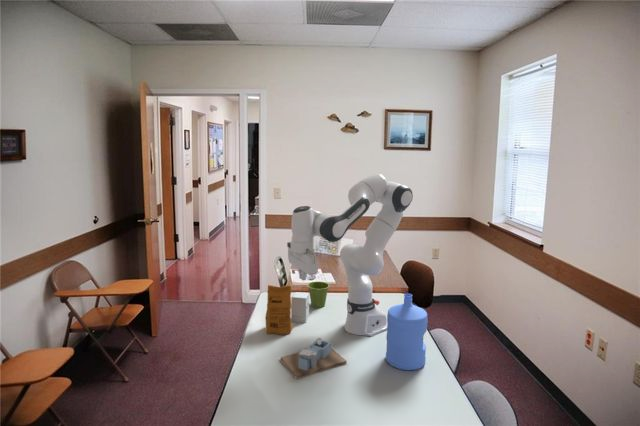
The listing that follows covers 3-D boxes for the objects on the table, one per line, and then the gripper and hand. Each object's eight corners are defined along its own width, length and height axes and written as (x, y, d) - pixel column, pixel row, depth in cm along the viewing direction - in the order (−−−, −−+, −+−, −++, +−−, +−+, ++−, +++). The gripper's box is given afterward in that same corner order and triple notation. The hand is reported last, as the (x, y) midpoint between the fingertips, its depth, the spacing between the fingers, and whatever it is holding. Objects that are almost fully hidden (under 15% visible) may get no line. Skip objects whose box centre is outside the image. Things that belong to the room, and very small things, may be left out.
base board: (327, 347, 184) (327, 344, 184) (346, 363, 171) (346, 360, 171) (280, 360, 174) (280, 357, 174) (296, 378, 161) (296, 375, 161)
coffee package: (267, 325, 205) (266, 281, 201) (293, 326, 204) (293, 281, 200) (263, 335, 195) (262, 288, 191) (291, 335, 194) (290, 289, 190)
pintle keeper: (315, 349, 180) (315, 336, 179) (329, 352, 177) (329, 339, 176) (298, 367, 166) (298, 353, 165) (314, 371, 163) (314, 357, 162)
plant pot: (329, 309, 223) (329, 289, 220) (306, 309, 223) (306, 289, 221) (329, 301, 234) (329, 281, 232) (307, 300, 234) (307, 281, 232)
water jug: (402, 375, 163) (404, 305, 158) (378, 356, 177) (380, 291, 172) (433, 365, 170) (437, 298, 165) (408, 347, 184) (411, 285, 179)
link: (317, 347, 181) (317, 338, 180) (331, 351, 178) (331, 342, 177) (295, 367, 166) (295, 357, 166) (309, 371, 163) (309, 362, 162)
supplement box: (306, 323, 207) (305, 298, 205) (291, 321, 209) (290, 297, 206) (309, 316, 214) (309, 292, 212) (295, 315, 216) (294, 291, 213)
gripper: (321, 251, 167) (321, 285, 169) (298, 240, 184) (298, 271, 187) (307, 254, 164) (307, 288, 166) (285, 241, 181) (285, 273, 184)
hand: (302, 279), depth 177 cm, fingers closed
